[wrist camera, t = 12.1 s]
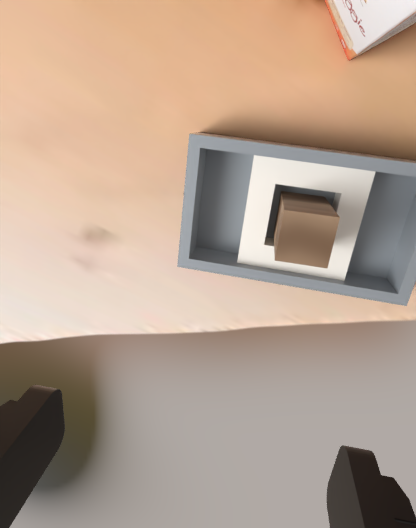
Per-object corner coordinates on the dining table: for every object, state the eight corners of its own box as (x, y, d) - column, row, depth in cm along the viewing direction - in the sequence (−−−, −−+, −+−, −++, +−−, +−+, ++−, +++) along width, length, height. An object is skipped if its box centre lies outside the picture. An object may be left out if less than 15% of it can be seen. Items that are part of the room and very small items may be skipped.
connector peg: (281, 190, 34) (284, 209, 26) (324, 196, 33) (340, 217, 26) (273, 231, 35) (274, 260, 28) (315, 237, 35) (327, 268, 27)
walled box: (199, 132, 34) (189, 133, 30) (432, 162, 32) (457, 168, 28) (187, 251, 38) (177, 266, 34) (390, 285, 36) (406, 305, 32)
